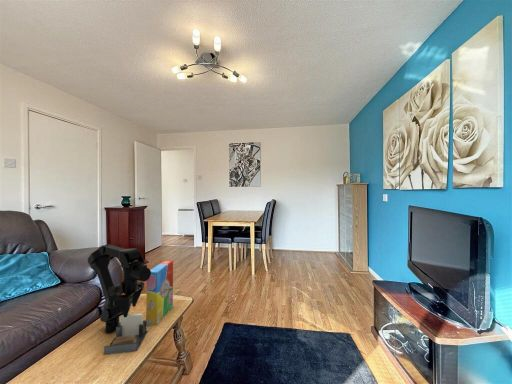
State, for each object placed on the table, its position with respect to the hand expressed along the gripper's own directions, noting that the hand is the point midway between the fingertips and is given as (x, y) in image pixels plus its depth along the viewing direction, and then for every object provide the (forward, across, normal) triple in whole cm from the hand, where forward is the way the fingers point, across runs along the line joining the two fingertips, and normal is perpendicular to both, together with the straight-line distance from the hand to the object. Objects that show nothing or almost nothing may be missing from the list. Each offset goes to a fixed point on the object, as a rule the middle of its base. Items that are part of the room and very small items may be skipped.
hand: (129, 311), depth 102 cm
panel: (+11, -1, 0) cm, 11 cm away
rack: (+12, +3, +1) cm, 12 cm away
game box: (+12, -17, +9) cm, 23 cm away
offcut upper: (+9, +8, +1) cm, 12 cm away
